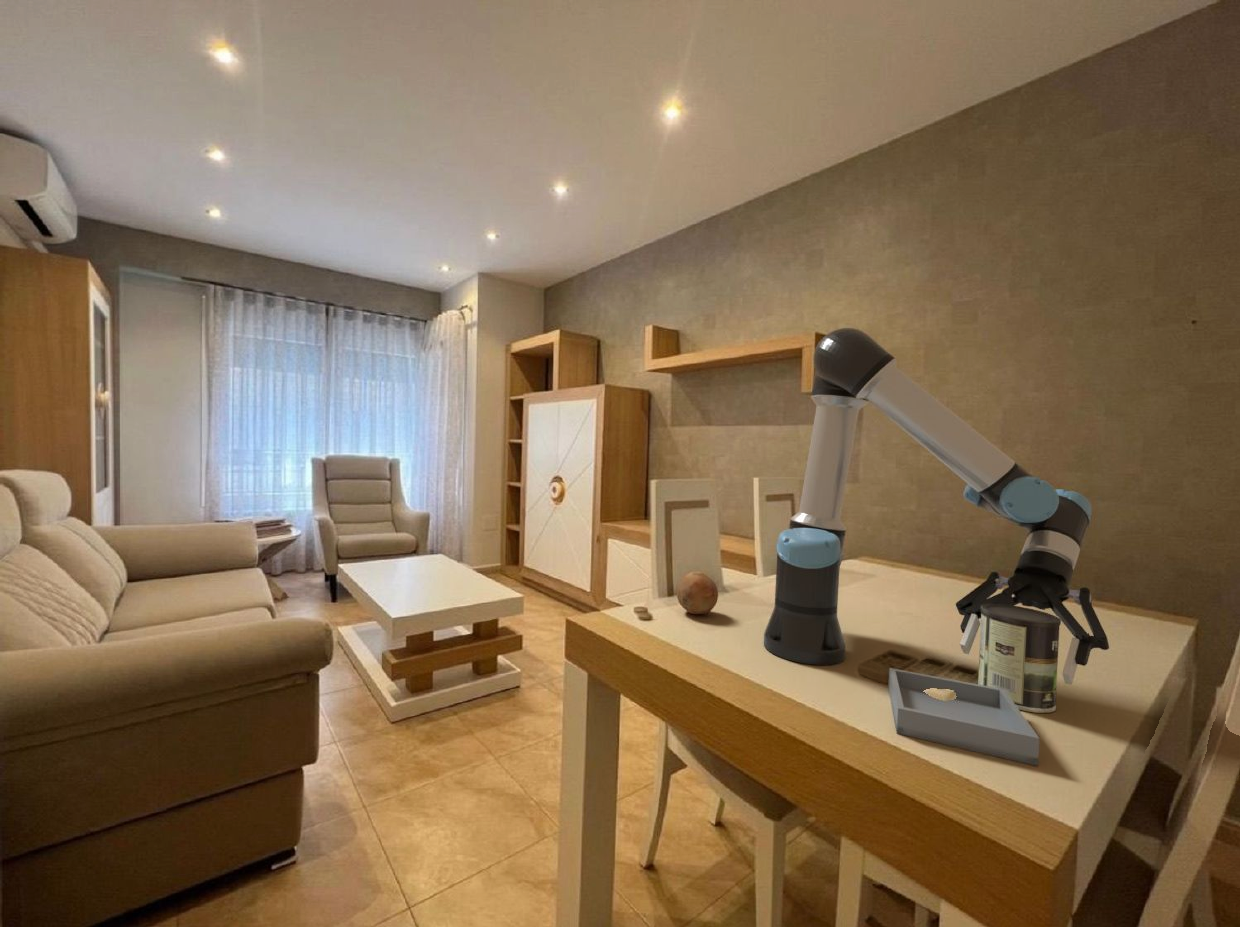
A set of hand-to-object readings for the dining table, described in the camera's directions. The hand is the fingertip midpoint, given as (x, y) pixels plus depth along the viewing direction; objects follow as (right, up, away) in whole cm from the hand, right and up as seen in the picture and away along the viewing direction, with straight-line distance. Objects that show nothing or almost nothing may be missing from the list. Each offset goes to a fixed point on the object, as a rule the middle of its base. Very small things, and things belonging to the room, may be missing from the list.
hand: (1011, 663), depth 82 cm
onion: (-45, -4, +40) cm, 60 cm away
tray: (-15, -5, -8) cm, 17 cm away
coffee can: (+1, -6, +1) cm, 7 cm away
